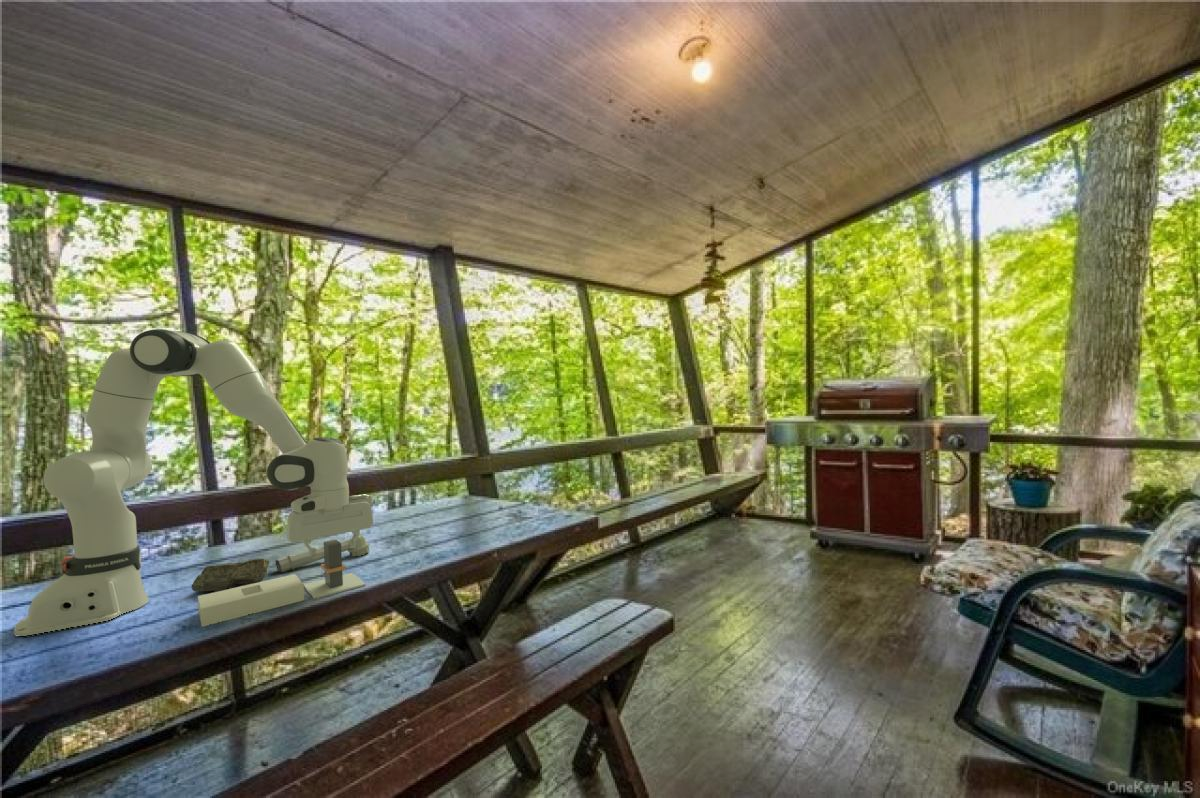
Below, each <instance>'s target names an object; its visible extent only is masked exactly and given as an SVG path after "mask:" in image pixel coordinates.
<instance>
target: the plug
mask: <svg viewBox="0 0 1200 798" xmlns="http://www.w3.org/2000/svg"><path fill="white" fill-rule="evenodd" d="M340 542H341V541H338V540H337V539H332V540H331V539H330V540H328V541H323V547H324V559H323V560H324V561H323V563H321V564H320V568H321V569H322V570H323V571H324V579H325V583H326V584H327V585H328V586H329V587H330V588H334V587H338V586H342V585H343V575H344V574H343V570H346V569H347V567H346V564H344V563H343V559H342V558H343V557H342V556H343V555H342V553H343V552H341V543H340Z"/></svg>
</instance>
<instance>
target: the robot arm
mask: <svg viewBox="0 0 1200 798" xmlns="http://www.w3.org/2000/svg"><path fill="white" fill-rule="evenodd" d="M129 346H130V347H129V348H122V349H117V350H115V351H113V352H112V353H110V355H109V356H108V357H107V359H106V360H105V362H104V364H103V365H102V368H101V371H99V375H98V376H97V380H96V382H95V385H94V388H93V391H92V396H91V399H90V402H89V405H88V409H87V412H86V416H85V423H86V426H87V427H89V428H90V431H91V437H92V439H91V440H92V445H91V449H90V450H87V451H86V450H85V451H79V452H75V453H72V454H68V455H67V456H65V457H62V458H60V459H58V460H56V461H54V462H52V463H51V464H50V465H49V466H48V467H47V468H46V470H45V472H44V474H43V480H42V481H43V485H44V488H45V489H46V492H47V493H49V494H50V495H51V496H53V497H54V498H57V499H58V500H59V501H60V502H61V503H62V506H63V508H64V509H65V511H66V513H67V515H68V518H69V520H70V524H71V531H72V539H73V554H74V555H73V556H70V555H68V556H64V558H63V559H62V560H61V571H62V574H63V575H61V576H60V577H59V578H57V579H56V580H55V581H53V582H52V583H51V584H49V586H47V587H46V588H44V589H43V590H41V591H40V592H39V593H38V594H37V595H36V596H35V597H34V598H33V599H32V601H31V602H30V605H29V608H28V612H27V616H26V617H24V618H23V619H21V620H19V621H18V622H17V623H16V624H15V626H14V628H13V635H14V634H16V635H19V636H25V635H32V634H37V635H39V634H38V633H43V634H45V633H44V632H48V633H51V632H50V631H53V632H56V631H55V630H58V631H62V630H61V629H64V630H67V629H66V628H69V629H71V628H70V627H74V628H78V627H77V626H80V627H83V626H82V625H85V626H89V625H88V624H90V625H94V624H93V623H96V624H99V623H98V622H101V623H104V622H103V621H106V622H109V621H108V620H110V621H112V620H111V619H113V618H115V617H117V616H119V615H120V616H122V615H124V614H123V613H125V614H127V613H130V612H132V610H133V611H134V610H137V609H140V608H141V607H143V606H145V605H146V604H148V602H149V600H150V598H149V597H148V595H147V592H146V589H145V587H144V583H143V579H142V575H141V570H140V569H141V566H142V552H141V551H142V550H141V549H140V548H141V547H140V545H138V534H137V533H138V531H137V517H136V514H135V513H134V512H133V511H132V510H130V509H129V508H128V507H127V505H126V503H125V501H124V498H123V495H122V490H123V491H124V490H127V489H130V488H133V487H134V486H136V485H138V484H140V482H142V481H144V480H145V479H146V478H148V477H149V475H150V473H151V471H152V467H153V463H152V460H151V457H150V455H149V454H148V452H147V428H148V424H149V423H148V422H149V418H150V415H151V411H152V408H153V405H154V403H155V398H156V394H157V389H158V387H159V384H160V383H161V381H162V380H163V379H165V378H166V377H169V376H170V377H175V378H176V377H177V378H178V377H195V376H201V377H202V378H203V379H204V380H205V381H206V384H208V386H209V388H210V389H211V391H212V393H214V396H215V398H217V400H218V401H219V403H220V404H221V405H222V406H223V408H224V409H226V410H227V411H228V412H229V413H230V414H231V415H233V416H236V417H239V418H241V419H245V420H248V421H250V422H252V423H254V424H257V425H258V426H259V427H261V428H262V429H263V430H264V431H265V432H266V433H267V434H268V435H269V437H270V439H271V440H272V441H273V442H274V444H275V445H276V447H277V448H278V450H279V451H280V452H281V454H280V455H278V456H276V457H275V458H273V459H271V461H269V464H268V466H267V469H266V475H267V479H268V481H269V483H270V484H271V485H272V486H273V487H274V488H276V489H278V490H281V491H293V490H298V489H299V488H304V487H310V494H308V495H305V496H302V497H300V498H297V499H295V500H293V501H292V502H290V503H291V504H290V507H291V510H292V511H291V512H290V513H289V515H288V516H287V521H286V539H287V540H288V541H289V542H290V543H292V544H293V543H299V542H302V543H303V545H304V546H305V547H306V549H307V551H309V556H310V557H312V556H316V555H317V553H316V547H311V546H310V544H312V540H314V539H319V538H324V537H329V536H335V535H340V534H345V533H352V534H353V535H352V536H351V538H352V539H351V540H350V539H349V540H350V541H348V548H355V547H356V540H357V538H358V536H359V535H361V532H360V531H362V530H366V529H371V528H372V527H373V525H374V516H373V511H372V508H373V498H372V496H371V495H368V494H366V493H364V494H358V495H350V488H349V487H350V486H349V482H348V479H347V478H348V477H347V476H348V471H349V466H348V465H349V464H348V454H347V453H348V452H347V449H346V445H345V443H344V442H343V441H342V440H340V439H339V438H334V437H328V436H327V437H320V436H319V437H314V438H312V439H310V441H308V442H307V440H306V439H305V438H304V437H303V435H302V434H301V432H300V430H298V428H297V426H296V425H295V424H294V422H293V421H292V420H291V418H290V417H289V415H288V414H287V412H285V410H284V409H283V408H282V406H281V404H280V402H279V401H278V400H277V397H276V396H275V395H274V393H273V391H272V390H271V388H270V386H269V385H268V383H267V382H266V381H267V380H266V379H265V378H264V376H263V374H262V373H261V372H260V370H259V368H258V367H257V365H256V364H255V363H254V361H253V360H252V358H251V357H250V356H249V355H248V354H247V353H246V352H245V350H244V349H243V348H242V347H241V346H240V345H239V344H237V342H235V341H232V340H229V339H228V340H227V339H226V340H225V339H223V340H222V339H221V340H215V341H212V342H210V341H209V340H208V339H206V338H205V337H202V336H201V335H195V334H191V333H189V332H185V331H180V330H169V329H164V328H155V329H149V330H146V331H145V330H144V331H142V332H141V333H139V334H137V335H136V336H135V337H134V338H133V340H132V341H131V343H130V345H129ZM129 611H130V612H129ZM126 612H127V613H126ZM121 614H122V615H121ZM120 616H119V617H120ZM117 618H118V617H117ZM115 619H116V618H115ZM113 620H114V619H113ZM32 636H33V635H32Z"/></svg>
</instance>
